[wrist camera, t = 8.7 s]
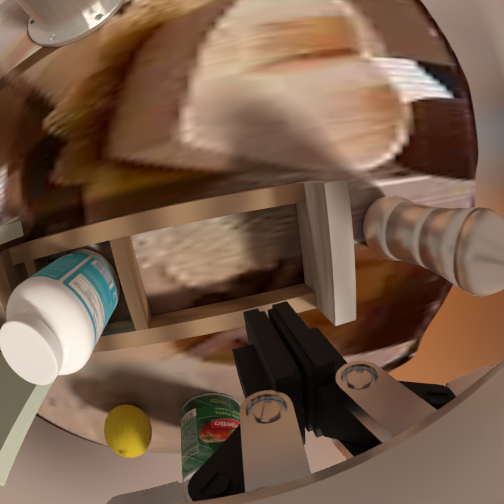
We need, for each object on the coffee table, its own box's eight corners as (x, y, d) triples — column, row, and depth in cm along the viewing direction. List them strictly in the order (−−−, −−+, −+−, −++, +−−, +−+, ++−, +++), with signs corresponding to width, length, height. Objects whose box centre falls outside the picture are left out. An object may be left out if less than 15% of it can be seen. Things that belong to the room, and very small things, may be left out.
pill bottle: (52, 300, 24) (-15, 368, 11) (66, 235, 23) (-17, 276, 10) (112, 328, 26) (72, 417, 13) (131, 264, 25) (84, 333, 12)
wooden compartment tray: (44, 345, 25) (20, 378, 18) (10, 247, 22) (-27, 263, 15) (323, 292, 29) (355, 319, 23) (312, 180, 26) (347, 180, 20)
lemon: (115, 419, 29) (105, 465, 21) (107, 389, 28) (93, 436, 20) (155, 424, 30) (153, 471, 22) (151, 394, 29) (146, 443, 21)
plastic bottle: (355, 257, 30) (509, 336, 11) (354, 194, 28) (530, 222, 9) (399, 250, 31) (541, 308, 12) (399, 193, 29) (556, 217, 10)
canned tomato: (248, 393, 31) (270, 462, 21) (238, 434, 33) (255, 497, 22) (181, 389, 29) (182, 463, 19) (179, 431, 31) (182, 498, 20)
